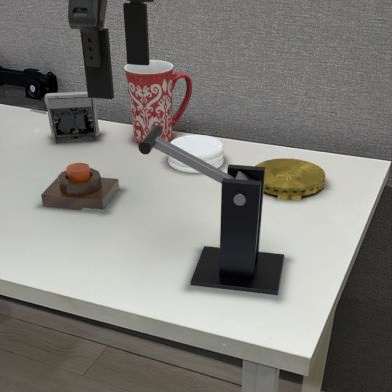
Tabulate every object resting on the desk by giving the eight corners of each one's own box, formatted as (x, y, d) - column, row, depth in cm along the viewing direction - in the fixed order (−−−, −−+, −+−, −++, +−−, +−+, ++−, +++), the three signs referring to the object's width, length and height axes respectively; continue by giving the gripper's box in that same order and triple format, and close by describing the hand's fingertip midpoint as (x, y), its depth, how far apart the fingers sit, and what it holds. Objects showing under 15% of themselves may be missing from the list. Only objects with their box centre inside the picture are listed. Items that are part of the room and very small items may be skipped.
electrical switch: (100, 134, 112) (94, 87, 106) (101, 147, 109) (95, 98, 102) (52, 137, 111) (43, 90, 105) (52, 150, 108) (43, 101, 101)
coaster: (191, 179, 96) (191, 159, 94) (157, 161, 102) (156, 142, 100) (234, 164, 101) (235, 145, 99) (199, 148, 107) (199, 129, 104)
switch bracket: (190, 289, 71) (189, 186, 62) (204, 253, 78) (204, 155, 69) (277, 299, 69) (288, 195, 60) (283, 261, 76) (294, 162, 67)
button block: (43, 207, 88) (38, 183, 86) (62, 186, 94) (58, 163, 92) (103, 213, 87) (100, 189, 84) (119, 191, 93) (117, 168, 90)
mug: (135, 152, 106) (130, 74, 97) (125, 135, 112) (119, 61, 103) (199, 144, 109) (199, 68, 100) (185, 128, 115) (184, 56, 106)
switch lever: (135, 154, 63) (142, 135, 61) (148, 137, 67) (155, 118, 65) (245, 213, 65) (255, 196, 63) (251, 192, 69) (261, 176, 67)
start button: (64, 181, 87) (62, 170, 86) (72, 172, 90) (71, 161, 89) (86, 183, 86) (84, 172, 85) (94, 174, 89) (92, 163, 88)
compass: (237, 184, 95) (237, 171, 93) (283, 164, 101) (284, 152, 99) (291, 208, 88) (293, 195, 86) (338, 185, 94) (340, 173, 93)
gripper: (92, -179, 41) (117, 117, 55) (175, -165, 60) (178, 54, 74) (-2, -178, 42) (46, 111, 56) (108, -165, 61) (123, 51, 75)
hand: (121, 79), depth 65 cm, fingers open, 13 cm apart
